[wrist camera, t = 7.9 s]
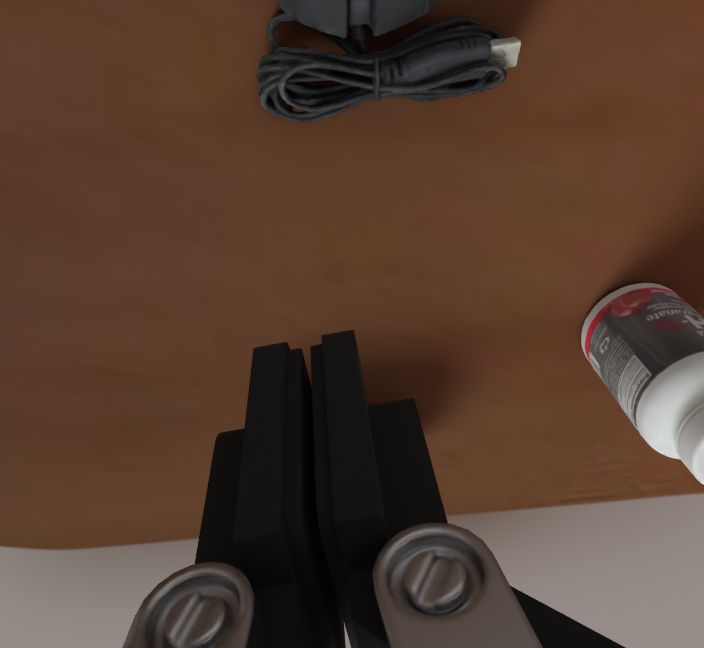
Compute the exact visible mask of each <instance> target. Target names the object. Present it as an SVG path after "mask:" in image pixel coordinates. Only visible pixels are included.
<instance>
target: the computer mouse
mask: <svg viewBox="0 0 704 648" xmlns="http://www.w3.org/2000/svg"><path fill="white" fill-rule="evenodd" d="M277 1H278V5H279V7H280V8H281V9H282V10H283V11H284V13H281V14H279V15H277V16H275V17H274V18H272V19H271V21H270V23H269V25H268V28H267V33H268V37H269V42H270V44H271V46H272V48H273V51H272V52H271V53H270V54H268V55H265V56H263V57H262V58H261V59H260V61H259V70H258V72H257V79H258V82H259V86H258V94H259V96H260V97H261V105H262V106H263V107H264V108H265V110H266V111H267V112H269V113H271V114H272V115H274V116H277V117H280V118H283V119H288V120H290V121H295V122H308V121H314V120H319V119H324V118H328V117H330V116H333V115H335V114H338V113H341V112H342V111H344V110H346V109H349V108H351V107H353V106H355V105H358V104H360V103H363V102H365V101H368V100H371V99H376V100H379V99H380V98H381V97H387V96H392V97H396V96H401V97H409V98H410V99H412V100H416V101H420V102H422V101H434V100H437V99H439V98H447V97H457V96H464V95H469V94H474V93H477V92H482V91H484V90H486V89H491V88H493V87H495V86H497V85H499V84H500V83H502V82H503V81H505V78H506V75H507V71H506V70H505V69H507V68H511V67H515V66H516V64H517V58H518V54H519V51H520V46H521V42H520V40H519V39H517V37H510V38H504V37H503V36H502V35H501V34H500V33H499V32H498V31H495V30H494V29H493V28H490V27H486V26H481V24H480V23H478V22H477V21H476V20H474V19H471V18H467V17H454V18H450V19H446V20H444V21H440V22H438V23H435V24H433V25H430V26H428V27H426V28H424V29H422V30H421V31H418V32H416V33H414V34H412V35H410V36H408V37H407V38H405V39H403V40H402V41H400V42H398V43H397V44H395V45H393V46H391V47H389V48H386V49H384V50H382V51H376V50H375V51H372V52H370V51H368V50H367V48H366V46H365V44H364V38H365V28H364V24H368V25H369V26H370V27H371V28H372V32H373V35H374V36H379V35H381V34H384V33H387V32H389V31H391V30H394V29H396V28H398V27H400V26H403V25H405V24H407V23H409V22H411V21H413V20H415V19H417V18H419V17H421V16H423V15H425V14H426V13H428V11H429V10H430V9H431V8H432V7H433V6H434V4H435V3H436V2H437V0H277ZM281 21H296V22H299V23H301V24H303V25H306V26H309V27H311V28H313V29H314V30H316V31H318V32H320V33H321V34H323V35H325V36H326V37H328V38H329V39H331V40H332V41H334V42H335V43H336V44H338V45H339V46H340V47H341V48H342V49H344V50H345V51H346V52H347V53H348V54H341V55H340V54H336V53H332V52H321V51H319V50H315V49H312V48H307V47H280V46H279V45H278V44H277V42H276V40H275V37H274V29H275V26H276V25H277V24H278V23H279V22H281ZM455 24H467V25H463V26H460V27H456V28H451V29H447V30H443V31H440V32H437V31H438V30H440V29H442V28H446V27H450V26H452V25H455ZM349 26H350V27H351V29H352V32H353V37H351V36H347V27H349ZM435 32H437V33H435ZM485 33H489V34H491V35H492V37H490V36H489V35H487V34H485ZM340 37H341V38H340ZM342 38H344V39H346V40H343V39H342ZM347 38H348V39H347ZM354 40H355V41H357V43H358V45H359V46H358V45H357V44H356V43H355V42H354ZM498 74H500V76H498V77H497V78H496V79H494V78H495V77H496V76H497V75H498ZM323 80H331V81H336V82H340V83H338V84H331V85H328V86H326V85H324V86H306V85H297V84H294V83H295V82H308V81H323ZM292 108H297V109H300V110H302V111H304V112H295V111H293V109H292Z"/></svg>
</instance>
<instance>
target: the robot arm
mask: <svg viewBox="0 0 704 648" xmlns="http://www.w3.org/2000/svg"><path fill="white" fill-rule="evenodd" d="M311 376H312V388H311V384H310V380H309V376H308V372H307V368H306V364H305V360H304V356H303V352H302V349H301V348H298V349H293V350H290V348H289V345H288V343H287V342H283V343H278V344H272V345H267V346H261V347H256V348H254V350H253V358H252V367H251V376H250V385H249V394H248V403H247V412H246V421H245V429H239V430H234V431H228V432H223V433H219V434H218V436H217V438H216V441H215V447H214V452H213V458H212V464H211V470H210V476H209V482H208V488H207V494H206V500H205V506H204V512H203V518H202V524H201V530H200V536H199V541H198V548H197V553H196V559H195V564H194V565H191V566H188V567H186V568H184V569H181V570H179V571H177V572H175V573H173V574H172V575H170V576H169V577H168V578H166V579H165V580H163V581H162V582H161V583H159V584H158V585H157V586H156V587H155V588H154V589H153V590H152V592H151V593H150V594H149V595H148V596H147V597H146V598H145V599H144V601H143V603H142V605H141V606H140V608H139V610H138V612H137V614H136V615H135V617H134V620H133V623H132V625H131V628H130V630H129V633H128V635H127V638H126V640H125V643H124V645H123V648H346V647H345V633H344V623H345V627H346V630H347V634H348V637H349V641H350V645H351V648H625V647H623V646H621V645H619V644H618V643H616V642H614V641H612V640H610V639H608V638H606V637H605V636H603V635H601V634H599V633H597V632H595V631H593V630H592V629H590V628H588V627H586V626H584V625H582V624H580V623H579V622H577V621H575V620H573V619H571V618H569V617H567V616H566V615H564V614H562V613H560V612H558V611H556V610H554V609H552V608H551V607H549V606H547V605H545V604H543V603H541V602H539V601H538V600H536V599H534V598H532V597H530V596H528V595H526V594H524V593H523V592H521V591H519V590H517V589H515V588H513V587H511V586H510V585H509V583H508V581H507V580H506V577H505V576H504V574H503V572H502V570H501V568H500V566H499V564H498V562H497V561H496V559H495V557H494V555H493V553H492V552H491V551H490V549H489V548H488V547H487V545H486V544H485V543H484V541H483V540H482V539H480V538H479V537H478V536H476V535H475V534H473V533H472V532H470V531H469V530H467V529H464V528H461V527H459V526H456V525H452V524H448V522H447V519H446V515H445V511H444V508H443V504H442V500H441V497H440V493H439V489H438V485H437V482H436V478H435V474H434V471H433V467H432V463H431V459H430V456H429V452H428V448H427V445H426V441H425V437H424V433H423V430H422V426H421V422H420V419H419V415H418V411H417V408H416V404H415V401H414V399H413V398H411V399H406V400H400V401H395V402H389V403H384V404H378V405H372V406H368V401H367V395H366V390H365V385H364V380H363V375H362V369H361V364H360V359H359V354H358V348H357V343H356V338H355V333H354V330H349V331H344V332H338V333H333V334H327V335H322V344H320V345H315V346H311Z"/></svg>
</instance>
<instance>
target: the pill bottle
mask: <svg viewBox="0 0 704 648" xmlns="http://www.w3.org/2000/svg"><path fill="white" fill-rule="evenodd" d="M581 344H582V349H583V352H584V354H585V356H586V358H587V359H588V361H589V362H590V364H591V365H592V367H593V368H594V370H595V371H596V372H597V374H598V375H599V376H600V378H601V379H602V381H603V382H604V383H605V385H606V386H607V388H608V389H609V391H610V392H611V393H612V395H613V396H614V398H615V399H616V400H617V402H618V403H619V405H620V406H621V408H622V409H623V410H624V412H625V413H626V415H627V416H628V417H629V419H630V420H631V422H632V423H633V424H634V426H635V427H636V429H637V430H638V431H639V433H640V434H641V436H642V437H643V438H644V440H645V441H646V442H647V443H648V444H649V445H650V446H651V447H652V448H653V449H655V450H656V451H658V452H659V453H661V454H663V455H666V456H668V457H671V458H675V459H681V460H682V462H683V463H684V464H685V466H686V467H687V468H688V469H689V470H690V471H691V473H692V474H693V475H694V476H695V477H696V479H697V480H698V481H699V482H701V483H702V484H703V485H704V317H702V316H701V315H700V314H699V313H698V312H697V311H696V310H694V308H693V307H691V306H690V305H689V304H688V303H687V302H685V301H684V300H683V299H682V298H681V297H679V296H678V295H677V294H676V293H675V292H673V291H672V290H671V289H669V288H667V287H665V286H662V285H659V284H654V283H638V284H633V285H628V286H625V287H622V288H620V289H618V290H616V291H614V292H612V293H610V294H609V295H607V296H606V297H604V298H603V299H602V300H600V301H599V302H598V303H597V304H596V305H595V307H594V308H593V309H592V311H591V312H590V313H589V315H588V316H587V318H586V319H585V322H584V325H583V328H582V336H581Z"/></svg>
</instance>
